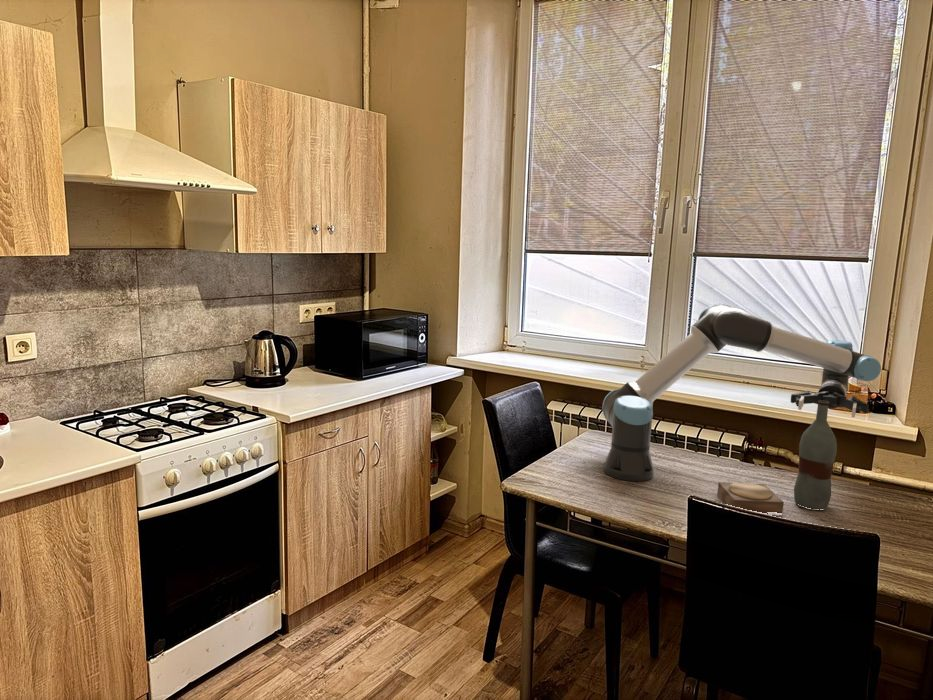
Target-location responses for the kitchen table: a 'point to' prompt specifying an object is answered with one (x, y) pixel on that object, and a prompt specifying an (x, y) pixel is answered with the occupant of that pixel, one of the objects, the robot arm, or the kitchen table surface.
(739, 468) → the kitchen table surface
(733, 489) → the soap dish
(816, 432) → the vodka
